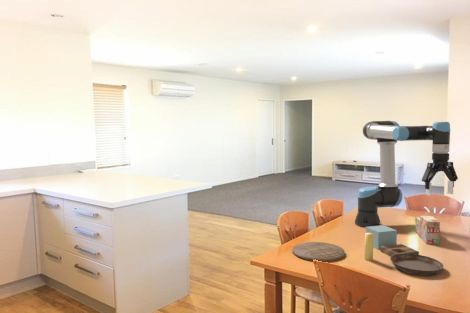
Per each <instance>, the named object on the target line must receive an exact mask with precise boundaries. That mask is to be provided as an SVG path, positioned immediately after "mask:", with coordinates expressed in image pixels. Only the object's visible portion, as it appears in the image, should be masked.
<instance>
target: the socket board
mask: <svg viewBox="0 0 470 313" xmlns="http://www.w3.org/2000/svg"><path fill="white" fill-rule="evenodd" d="M379 251H380V252H381V253H383V254H385V255H387V256H389V257H391V256H393V255H396V254H416V255H420V251H418V250H415V249H413V248H411V247H409V246H406V245H405V244H403V243H400V244H399V243H398V244H397V245H388V246H381V247H380V249H379Z"/></svg>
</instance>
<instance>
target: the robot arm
mask: <svg viewBox="0 0 470 313" xmlns="http://www.w3.org/2000/svg"><path fill="white" fill-rule="evenodd" d="M362 134H363V136H364V137H365V138H366V139H368V140H375V141H376V142H377V145H379V167H380V168H379V169H380V173H379V174H380V183H378V185H377V186H364V187H360V188H359V189H358V191H357V213H356V215H355V219H354V225H356V226H357V227H363V228H366V227H370V226H380V225H381V220H380V216H379V213H378V208H394V207H399V206H400V204H401V203H402V200H403V192H402V190H401V188H399V184H397V183H396V160H395V159H396V158H395V157H396V156H395V154H396V153H395V152H396V150H395V148H396V146H395V145H396V144H397V143H398V142H405V141H406V142H407V141H409V142H410V141H432V147H431V148H432V149H431V150H432V154H431V160H432V162H427V163H426V164H427V165H426V168H425V170H424V173H423V176H422V178H421V182H424V189H425V196H429V197H432V185H433V184H432V182H431V181H432V180H433V179H434V177H435V176H436V174H438V173H439V172H443V173H444V175H445V176H446V177H447V179H448V180H447V192H446V193H447V194H449V195H454V188H455V182H457V180H458V179H459V177H458V175H457V173H456V172H457V171H456V169H455V167H454V162H453V161H449V160H450V153H449V152H450V145H451V144H450V142H451V124H450V122H449V121H434V122H433V123H432V125H400V124H399V123H398V121H395V120H394V121H393V120H372V121H368V122H367V123H365V124H364V126H362Z"/></svg>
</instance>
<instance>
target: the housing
mask: <svg viewBox="0 0 470 313" xmlns="http://www.w3.org/2000/svg"><path fill="white" fill-rule="evenodd" d="M365 233H372V234H373V249H374V248H375V249H376V250H380V247H381V246H388V245H398V244H397V241H398V240H397V236H398V235H397V234H398V233H397V229H395V228H391V227H389V226H386V225H381V224H380V226H370V227H365Z"/></svg>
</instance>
